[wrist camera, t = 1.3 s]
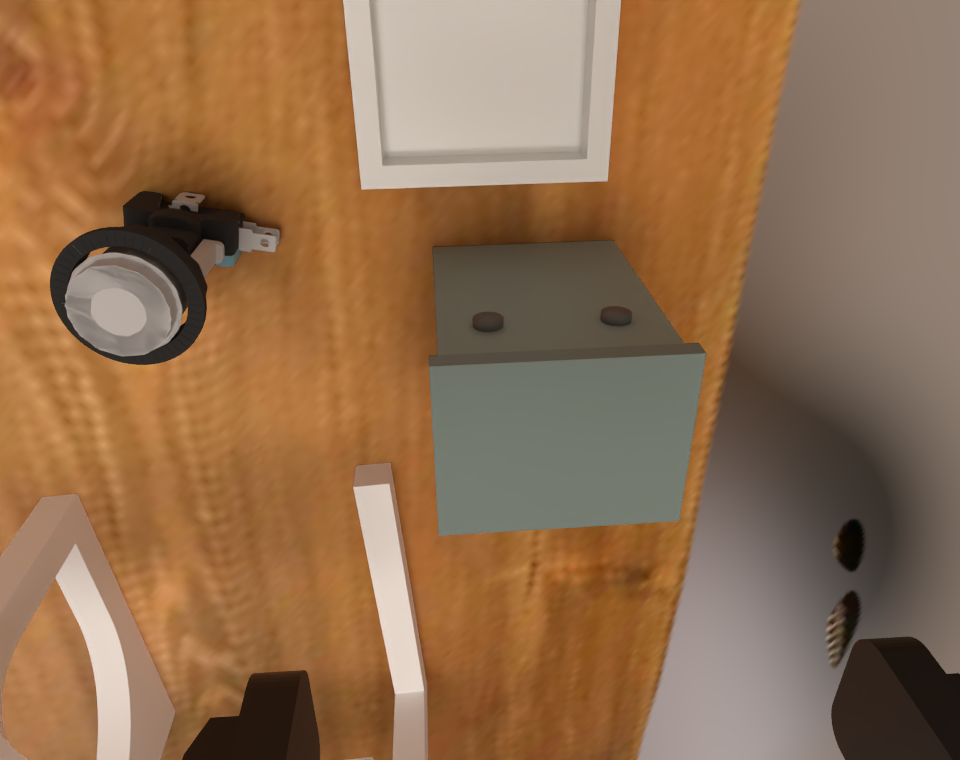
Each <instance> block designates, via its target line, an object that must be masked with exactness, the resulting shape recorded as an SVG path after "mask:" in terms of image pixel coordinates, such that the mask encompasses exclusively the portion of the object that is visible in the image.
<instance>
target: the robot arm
mask: <svg viewBox="0 0 960 760" xmlns="http://www.w3.org/2000/svg"><path fill="white" fill-rule="evenodd" d="M831 715H832V726H833V731H834V735H835V738H836V741H837V744H838V746H839V748H840V750H841V752H842V754H843V756H844V758H845V760H960V674H959V673H956V674H946V673H945V672H944V670H943V669H942V668H941V666H940V665H939V664H938V662H937V661H936V660H935V658H934V657H933V656H932V655H931V653H930V652H929V650H928V649H927V648H926V647H925V646H924V645H923V644H922V643H921V642H920V641H919V640H917V639H915V638H913V637H894V638H877V639H862V640H858V641H857V642H856V643H855V644H854V646H853V648H852V651H851V653H850V656H849V659H848V662H847V665H846V667H845V670H844V673H843V676H842V679H841V682H840V684H839V687H838V690H837V693H836V696H835V699H834V701H833V705H832V714H831ZM183 760H320V744H319V734H318V728H317V723H316V717H315V711H314V706H313V700H312V695H311V689H310V683H309V678H308V674H307V672H306V671H305V670H302V671H285V672H268V673H254V674H252V675H251V677H250V678H249V681H248V683H247V687H246V691H245V695H244V699H243V703H242V707H241V711H240V715H239V716H232V717H216V718H210V719H209V721H208V722H207V724H206V725H205V726H204V728H203V729H202V730H201V732H200V733H199V735H198V736H197V737H196V739H195V740H194V741H193V743H192V744H191V746H190V747H189V748H188V750H187V751H186V753H185V754H184V756H183Z"/></svg>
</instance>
